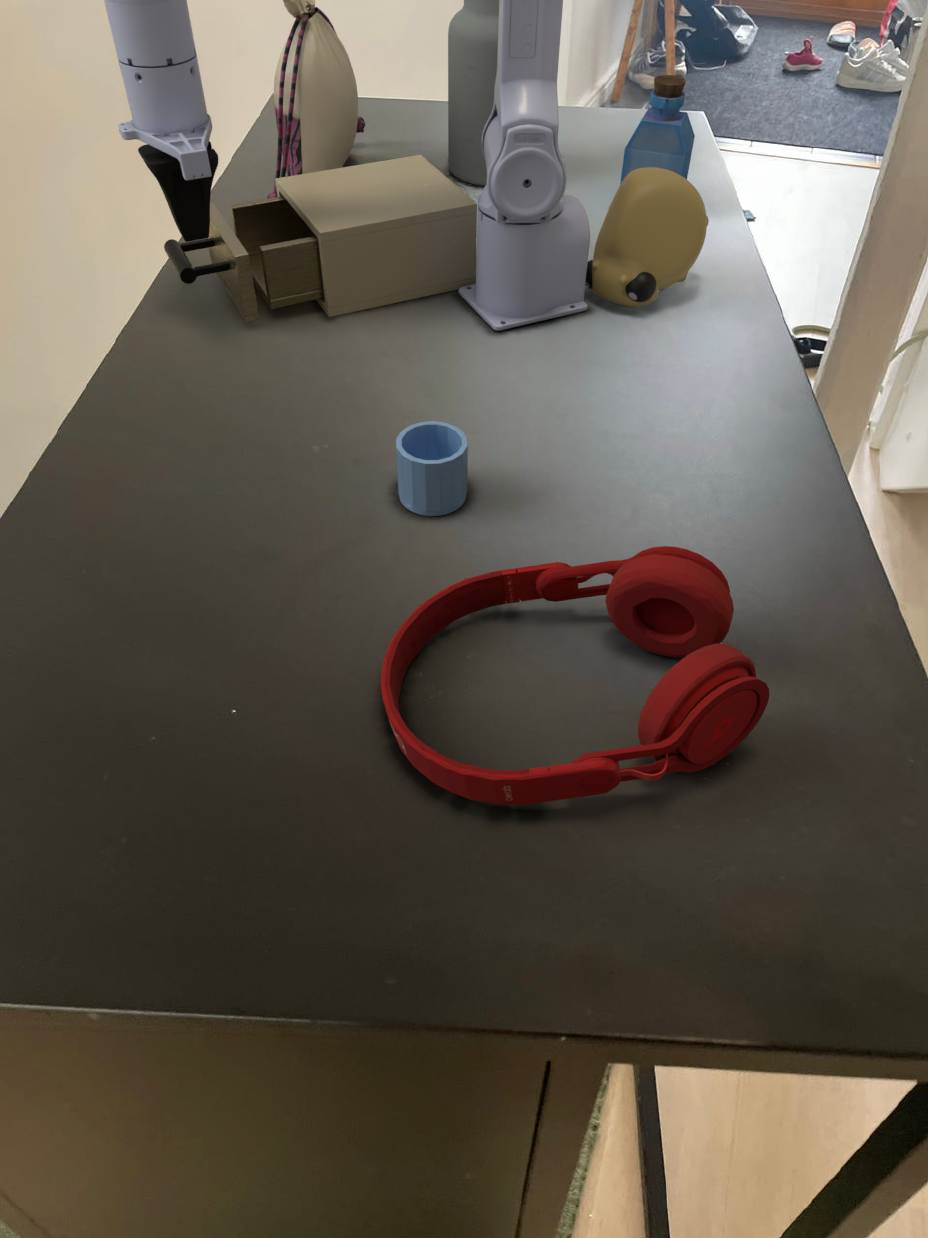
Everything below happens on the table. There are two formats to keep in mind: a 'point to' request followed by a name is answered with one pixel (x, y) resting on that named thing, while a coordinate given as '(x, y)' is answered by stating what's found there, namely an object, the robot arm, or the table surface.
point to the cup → (432, 468)
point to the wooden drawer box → (386, 231)
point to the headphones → (648, 617)
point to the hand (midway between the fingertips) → (195, 236)
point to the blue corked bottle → (662, 131)
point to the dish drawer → (257, 255)
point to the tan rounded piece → (647, 237)
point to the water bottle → (471, 86)
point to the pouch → (314, 96)
